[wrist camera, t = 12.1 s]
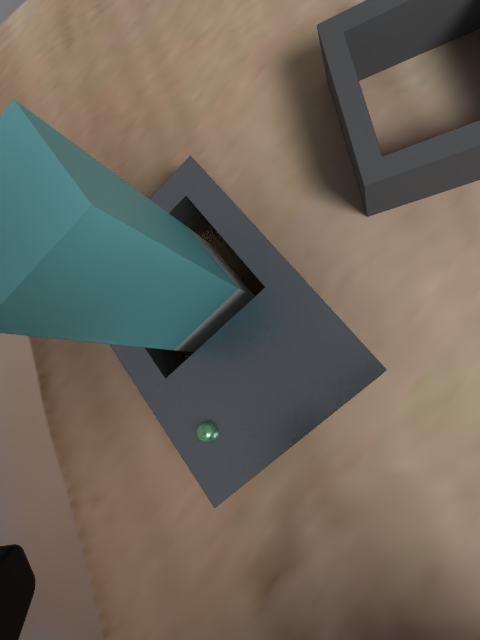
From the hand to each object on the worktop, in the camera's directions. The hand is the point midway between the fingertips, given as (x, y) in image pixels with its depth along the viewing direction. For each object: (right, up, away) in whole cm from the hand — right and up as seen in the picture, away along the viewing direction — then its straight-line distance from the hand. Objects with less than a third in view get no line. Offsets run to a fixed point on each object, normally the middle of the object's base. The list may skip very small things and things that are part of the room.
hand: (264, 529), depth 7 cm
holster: (+9, +14, +12) cm, 21 cm away
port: (-1, +3, +15) cm, 15 cm away
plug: (-2, +5, +15) cm, 16 cm away
